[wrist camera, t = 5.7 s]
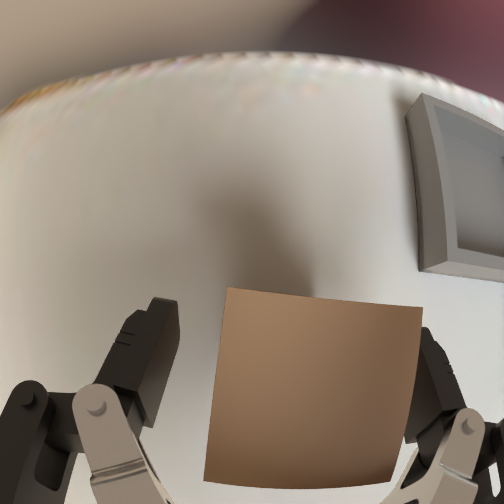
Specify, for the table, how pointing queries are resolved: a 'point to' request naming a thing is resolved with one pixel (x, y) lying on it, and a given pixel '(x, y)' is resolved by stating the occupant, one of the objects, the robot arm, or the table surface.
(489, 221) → the desk tray
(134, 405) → the robot arm
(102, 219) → the table surface
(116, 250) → the table surface
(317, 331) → the walnut block
